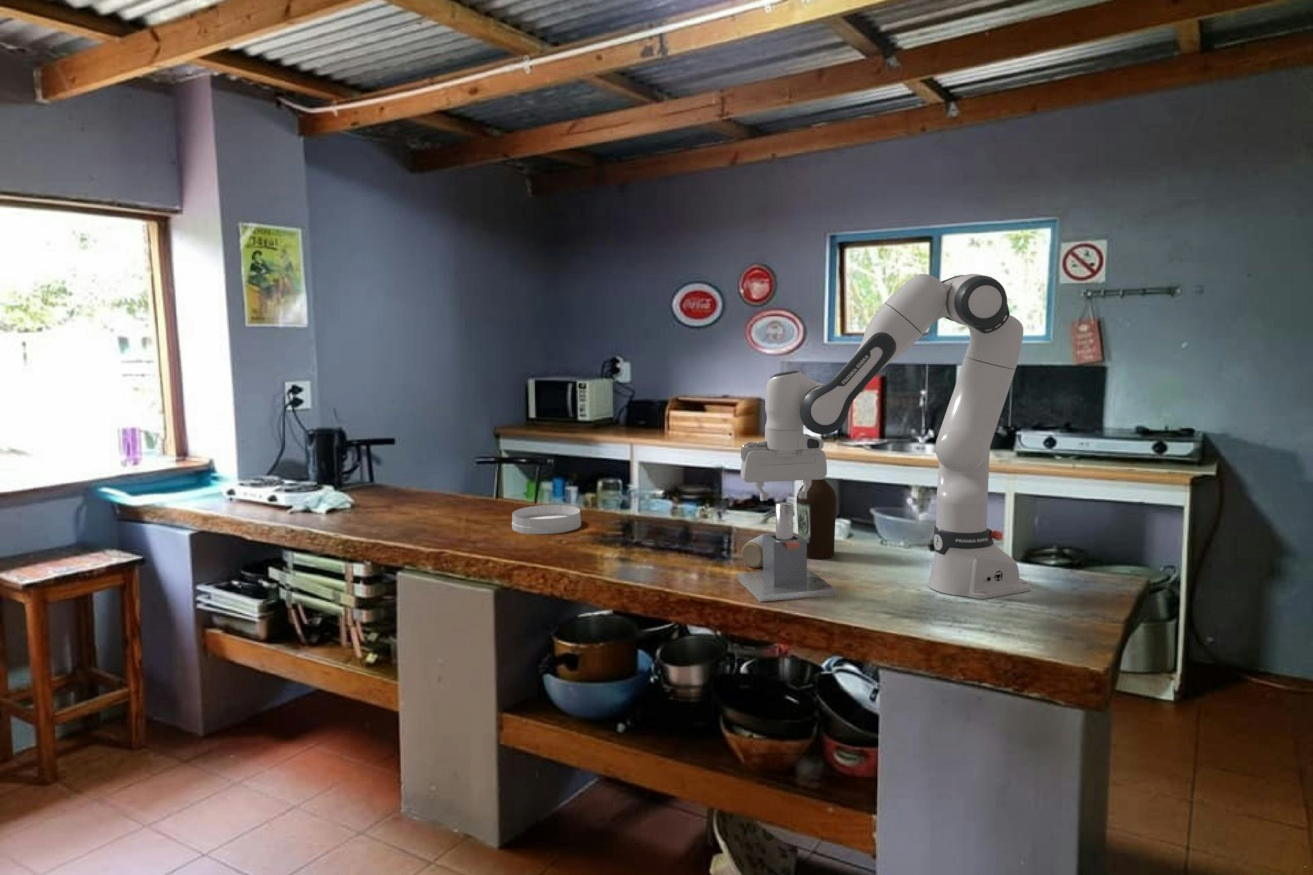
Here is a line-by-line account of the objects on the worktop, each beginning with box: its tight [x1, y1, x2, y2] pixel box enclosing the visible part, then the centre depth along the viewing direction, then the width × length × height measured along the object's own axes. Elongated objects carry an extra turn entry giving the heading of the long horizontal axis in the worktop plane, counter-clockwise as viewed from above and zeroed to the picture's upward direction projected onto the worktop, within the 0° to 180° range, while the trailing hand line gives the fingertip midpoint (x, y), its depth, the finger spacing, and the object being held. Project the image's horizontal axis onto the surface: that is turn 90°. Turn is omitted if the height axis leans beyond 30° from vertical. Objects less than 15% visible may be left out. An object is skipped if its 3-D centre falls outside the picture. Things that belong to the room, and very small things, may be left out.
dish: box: [511, 504, 582, 535], centre depth 265 cm, size 22×22×5 cm
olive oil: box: [796, 478, 838, 560], centre depth 222 cm, size 11×11×25 cm
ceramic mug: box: [741, 533, 767, 569], centre depth 213 cm, size 11×8×8 cm
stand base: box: [736, 531, 837, 603], centre depth 195 cm, size 18×18×12 cm
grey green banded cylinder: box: [775, 501, 794, 541], centre depth 194 cm, size 4×4×18 cm
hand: (783, 499), depth 193 cm, fingers open, 8 cm apart
